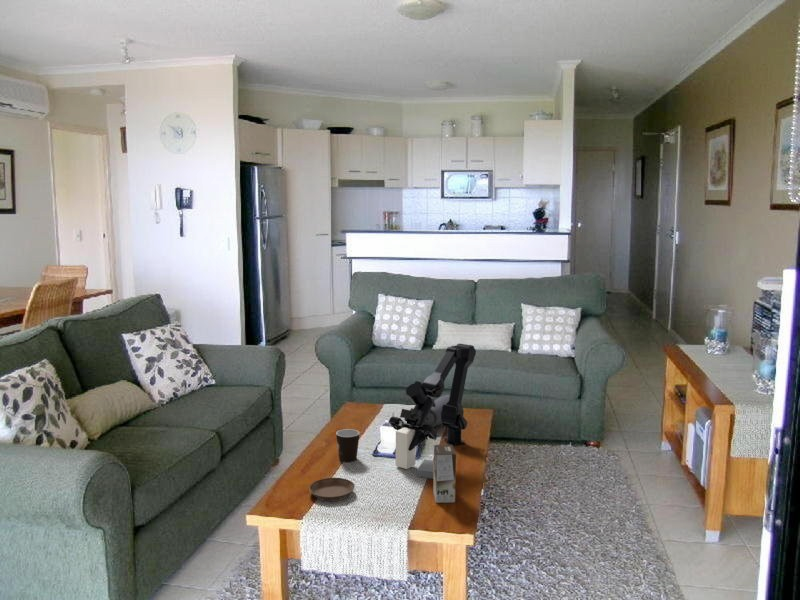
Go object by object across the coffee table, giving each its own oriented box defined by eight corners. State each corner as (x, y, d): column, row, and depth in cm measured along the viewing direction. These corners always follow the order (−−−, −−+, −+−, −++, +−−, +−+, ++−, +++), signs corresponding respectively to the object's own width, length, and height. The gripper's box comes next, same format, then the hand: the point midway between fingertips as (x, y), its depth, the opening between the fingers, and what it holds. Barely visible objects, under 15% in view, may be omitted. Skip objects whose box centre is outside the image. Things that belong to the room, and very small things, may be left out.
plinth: (424, 466, 246) (424, 459, 246) (451, 469, 244) (451, 462, 243) (416, 476, 237) (417, 469, 237) (445, 480, 234) (445, 473, 234)
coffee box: (455, 502, 217) (456, 454, 215) (435, 503, 216) (436, 454, 214) (451, 490, 226) (452, 444, 224) (432, 491, 226) (433, 444, 223)
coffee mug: (356, 464, 248) (356, 437, 246) (333, 462, 249) (333, 436, 248) (364, 452, 259) (364, 427, 257) (342, 451, 261) (342, 425, 259)
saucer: (313, 506, 214) (313, 498, 213) (305, 487, 228) (305, 480, 227) (359, 501, 218) (359, 493, 218) (349, 483, 232) (349, 475, 232)
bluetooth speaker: (439, 432, 283) (439, 408, 281) (418, 428, 287) (418, 405, 285) (458, 416, 303) (458, 394, 302) (438, 413, 307) (439, 392, 306)
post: (403, 461, 249) (404, 427, 247) (415, 464, 246) (415, 430, 244) (395, 465, 245) (395, 431, 243) (406, 469, 242) (407, 434, 240)
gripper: (391, 395, 250) (372, 432, 243) (433, 404, 239) (415, 443, 232) (404, 410, 258) (386, 446, 251) (445, 420, 247) (428, 458, 240)
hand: (403, 448), depth 243 cm, fingers closed on post, 5 cm apart
